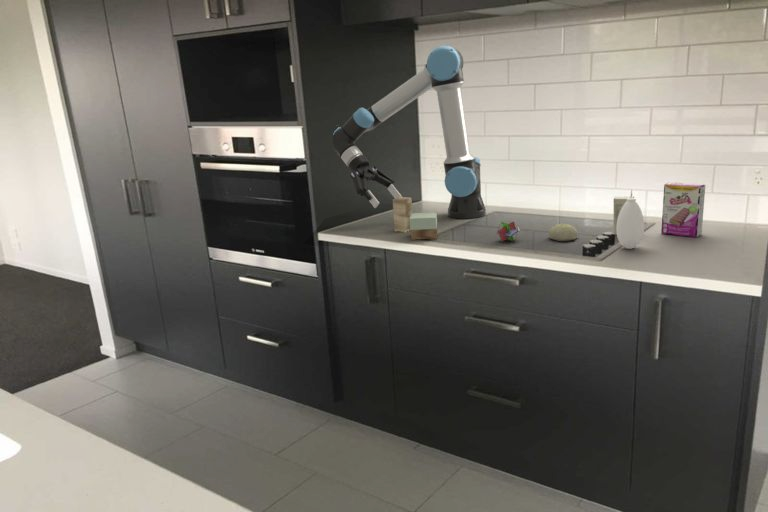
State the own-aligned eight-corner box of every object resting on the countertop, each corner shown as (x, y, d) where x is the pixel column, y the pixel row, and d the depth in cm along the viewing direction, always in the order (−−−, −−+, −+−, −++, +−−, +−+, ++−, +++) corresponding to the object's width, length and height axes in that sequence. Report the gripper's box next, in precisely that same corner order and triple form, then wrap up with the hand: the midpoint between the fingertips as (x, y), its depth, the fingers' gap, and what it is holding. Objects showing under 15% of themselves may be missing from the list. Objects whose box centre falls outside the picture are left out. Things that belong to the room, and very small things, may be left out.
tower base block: (437, 233, 226) (437, 223, 225) (437, 240, 217) (436, 228, 216) (412, 234, 227) (412, 224, 226) (411, 241, 218) (410, 229, 217)
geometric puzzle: (500, 239, 203) (512, 217, 203) (488, 235, 209) (500, 214, 209) (515, 249, 206) (527, 228, 206) (502, 244, 212) (514, 224, 212)
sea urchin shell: (578, 229, 210) (578, 216, 203) (577, 249, 206) (576, 237, 199) (550, 229, 213) (548, 216, 206) (548, 249, 209) (547, 237, 202)
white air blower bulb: (640, 252, 185) (643, 192, 180) (613, 250, 189) (614, 191, 184) (645, 246, 191) (648, 187, 187) (618, 244, 195) (620, 186, 191)
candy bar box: (660, 234, 204) (663, 184, 199) (666, 231, 207) (668, 181, 203) (697, 238, 196) (700, 186, 192) (702, 234, 200) (706, 183, 195)
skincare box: (634, 232, 208) (635, 196, 204) (633, 235, 204) (634, 198, 201) (613, 231, 210) (614, 196, 207) (612, 235, 207) (613, 198, 203)
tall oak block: (402, 228, 237) (400, 197, 233) (413, 229, 234) (411, 197, 230) (394, 231, 233) (392, 199, 230) (405, 232, 230) (403, 200, 227)
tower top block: (437, 223, 225) (436, 212, 224) (436, 228, 216) (435, 217, 215) (412, 224, 226) (411, 213, 225) (410, 229, 217) (409, 218, 216)
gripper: (371, 163, 250) (403, 202, 245) (328, 172, 232) (362, 215, 227) (381, 150, 246) (413, 189, 241) (337, 158, 227) (372, 201, 222)
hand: (388, 202), depth 234 cm, fingers open, 13 cm apart
